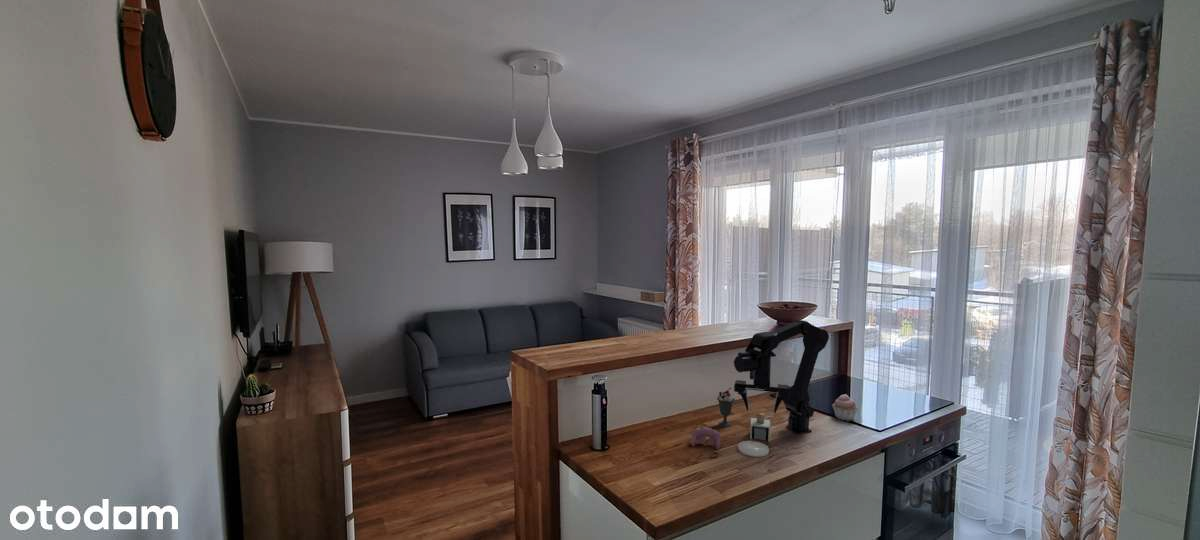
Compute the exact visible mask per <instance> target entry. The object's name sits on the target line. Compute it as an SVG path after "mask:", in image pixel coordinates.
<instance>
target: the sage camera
mask: <svg viewBox="0 0 1200 540" xmlns="http://www.w3.org/2000/svg"><path fill="white" fill-rule="evenodd" d="M765 415H766V414H765V413H763V412H757V413H756V418H755V417H751V418H750V433H749V434H750V435H749V439H750V441H753V440H752V439H753V434H754V426H756V427H764V428H766V436H767V441H768V443H770V441H771V420H770V419H765Z"/></svg>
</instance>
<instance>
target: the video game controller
mask: <svg viewBox="0 0 1200 540" xmlns="http://www.w3.org/2000/svg"><path fill="white" fill-rule="evenodd" d="M705 437H709V438H708V440H707V444H708V445H709V446H714V445H715V449H716V450H717V451H719V450H720V449H721V443H722V436H721V433H720V432H719V431H718V430H716V429H714V428H712V427H705V426H704V427H703V426H702V427H697V428H695V429H694V430H693V432H692V434H691V446H692V447H695V446H696V444H697V442H698V443H699V444H700V445H704V444H705V443H706V438H705Z"/></svg>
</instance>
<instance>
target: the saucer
mask: <svg viewBox="0 0 1200 540" xmlns="http://www.w3.org/2000/svg"><path fill="white" fill-rule="evenodd" d="M737 450H738V452H740V453H741V454H743V455H746V456H749V457H755V458H762V457H766V456H769V454H770V449H769V446H768V445H766V444H764V443H763V442H759V441H755V440H742V441H741V442H739V443H738V444H737Z"/></svg>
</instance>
